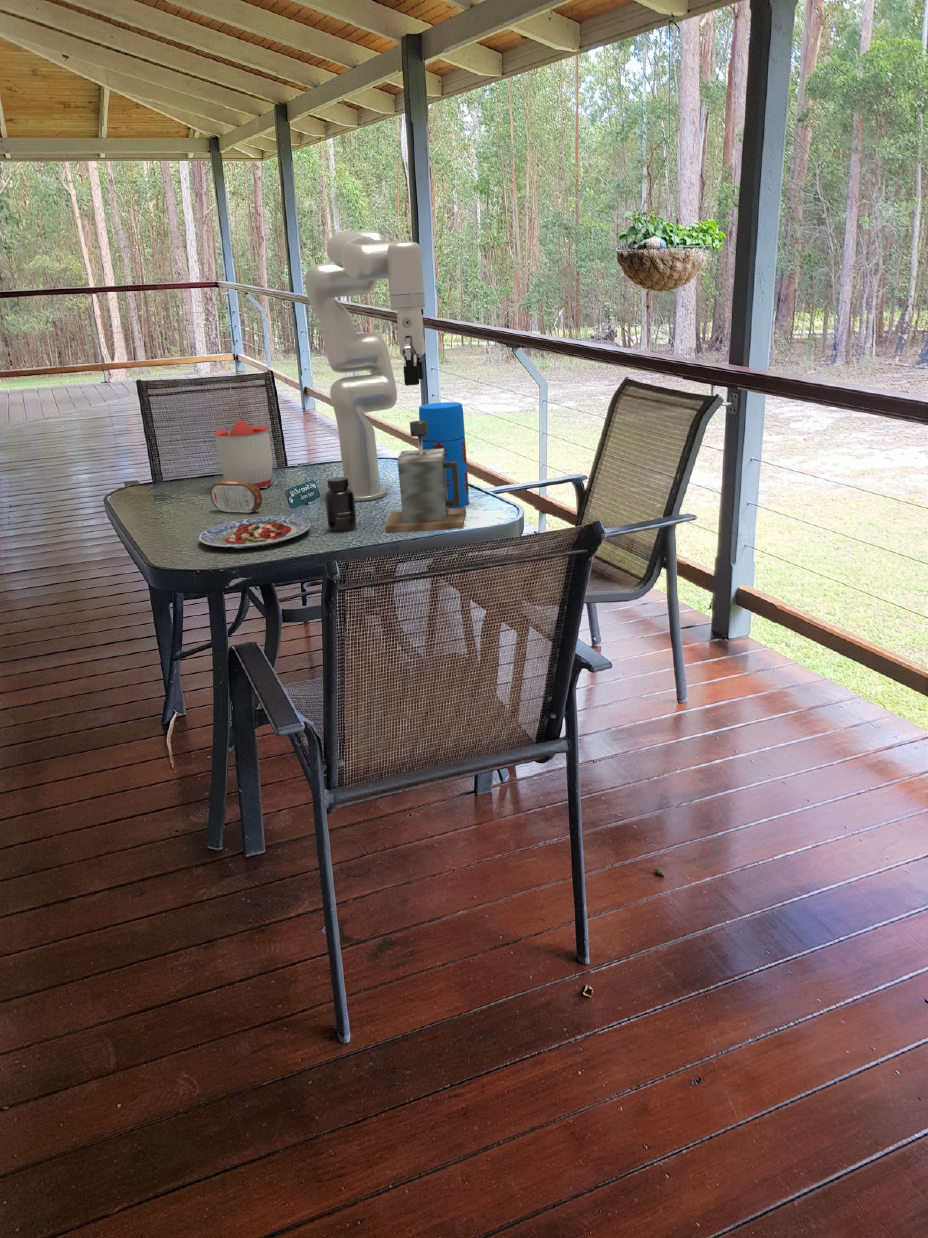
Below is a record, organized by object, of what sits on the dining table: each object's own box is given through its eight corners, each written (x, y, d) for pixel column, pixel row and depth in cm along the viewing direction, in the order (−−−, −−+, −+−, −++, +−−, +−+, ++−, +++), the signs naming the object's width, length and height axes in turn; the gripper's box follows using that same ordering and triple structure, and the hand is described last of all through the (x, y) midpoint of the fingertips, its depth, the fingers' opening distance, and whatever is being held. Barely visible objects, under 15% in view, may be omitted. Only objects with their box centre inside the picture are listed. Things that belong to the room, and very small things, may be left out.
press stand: (385, 532, 223) (378, 461, 217) (392, 517, 236) (386, 450, 230) (463, 528, 221) (458, 456, 216) (466, 513, 234) (461, 445, 229)
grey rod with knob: (416, 511, 226) (408, 423, 219) (418, 507, 229) (410, 421, 222) (433, 510, 225) (426, 422, 218) (434, 506, 229) (427, 419, 222)
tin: (264, 512, 252) (260, 480, 249) (257, 515, 249) (252, 482, 246) (218, 510, 258) (213, 478, 255) (211, 512, 255) (206, 481, 253)
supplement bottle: (345, 533, 224) (339, 482, 220) (322, 531, 228) (316, 481, 224) (363, 526, 230) (357, 476, 226) (340, 524, 233) (335, 475, 229)
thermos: (464, 509, 238) (457, 407, 230) (422, 510, 240) (413, 409, 232) (472, 499, 248) (466, 401, 240) (432, 500, 250) (424, 402, 242)
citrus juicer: (264, 479, 294) (254, 412, 287) (284, 487, 280) (275, 418, 273) (214, 487, 286) (203, 420, 280) (232, 497, 272) (221, 425, 265)
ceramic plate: (222, 527, 240) (220, 515, 239) (322, 522, 237) (321, 511, 236) (183, 556, 216) (181, 544, 215) (295, 552, 213) (293, 539, 212)
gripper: (421, 303, 203) (427, 386, 209) (428, 299, 219) (433, 376, 226) (386, 305, 204) (393, 388, 210) (395, 301, 220) (401, 378, 226)
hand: (414, 382), depth 218 cm, fingers open, 9 cm apart
